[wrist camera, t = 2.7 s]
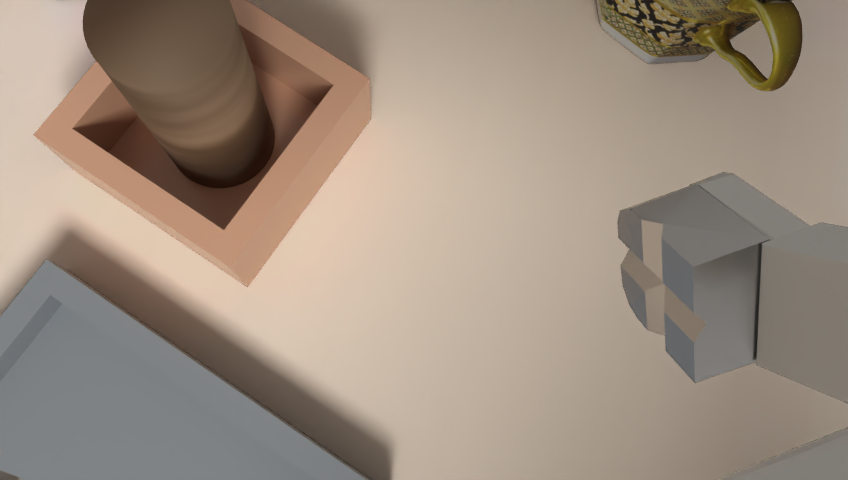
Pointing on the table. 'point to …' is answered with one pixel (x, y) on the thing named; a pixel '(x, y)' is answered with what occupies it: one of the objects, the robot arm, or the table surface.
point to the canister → (186, 83)
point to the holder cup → (240, 205)
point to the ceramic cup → (705, 32)
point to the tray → (129, 400)
